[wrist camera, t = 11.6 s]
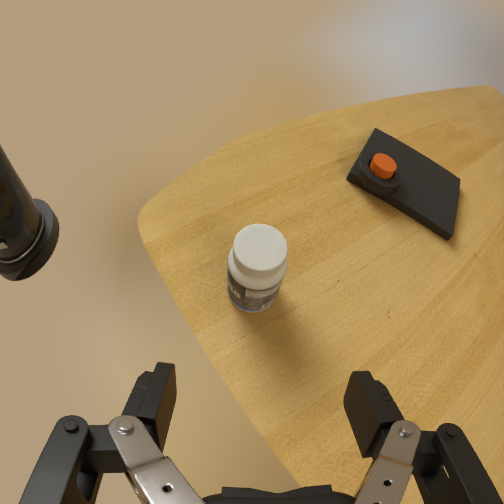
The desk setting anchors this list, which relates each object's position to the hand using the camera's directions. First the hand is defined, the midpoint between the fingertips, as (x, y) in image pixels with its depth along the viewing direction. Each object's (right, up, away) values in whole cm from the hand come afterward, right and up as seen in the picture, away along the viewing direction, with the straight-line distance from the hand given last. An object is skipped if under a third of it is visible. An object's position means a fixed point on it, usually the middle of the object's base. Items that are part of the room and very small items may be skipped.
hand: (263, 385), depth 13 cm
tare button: (+16, +16, +23) cm, 32 cm away
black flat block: (+22, +16, +27) cm, 38 cm away
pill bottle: (-1, +2, +17) cm, 17 cm away
